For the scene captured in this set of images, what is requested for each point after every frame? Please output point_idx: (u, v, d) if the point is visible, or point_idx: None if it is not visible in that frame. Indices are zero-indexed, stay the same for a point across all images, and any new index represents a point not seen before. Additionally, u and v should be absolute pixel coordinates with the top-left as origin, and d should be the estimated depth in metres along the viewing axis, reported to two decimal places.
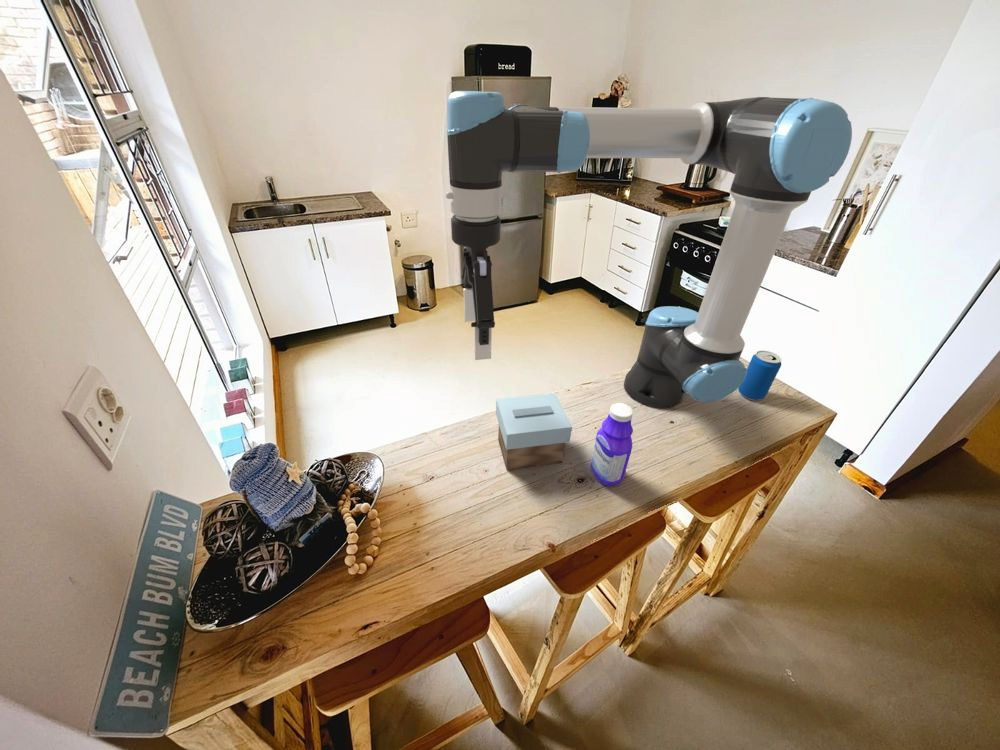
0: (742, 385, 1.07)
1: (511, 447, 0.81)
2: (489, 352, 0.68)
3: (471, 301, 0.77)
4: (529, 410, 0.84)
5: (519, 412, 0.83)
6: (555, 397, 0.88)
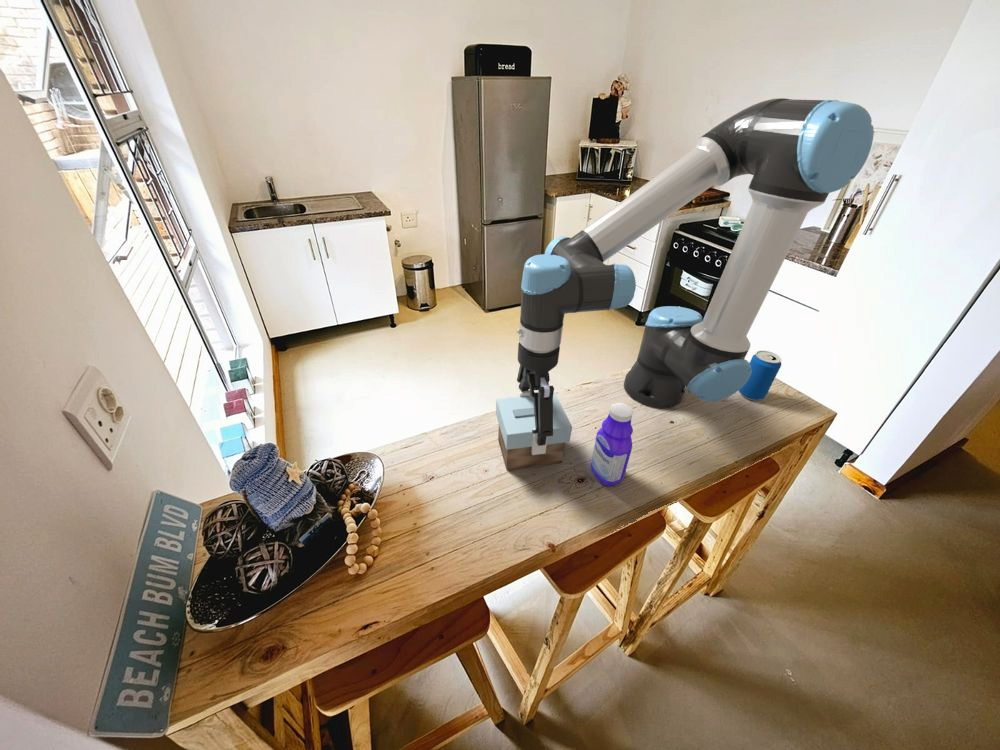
0: None
1: (511, 447, 0.81)
2: (544, 449, 0.82)
3: None
4: (529, 410, 0.84)
5: (519, 412, 0.83)
6: (555, 397, 0.88)
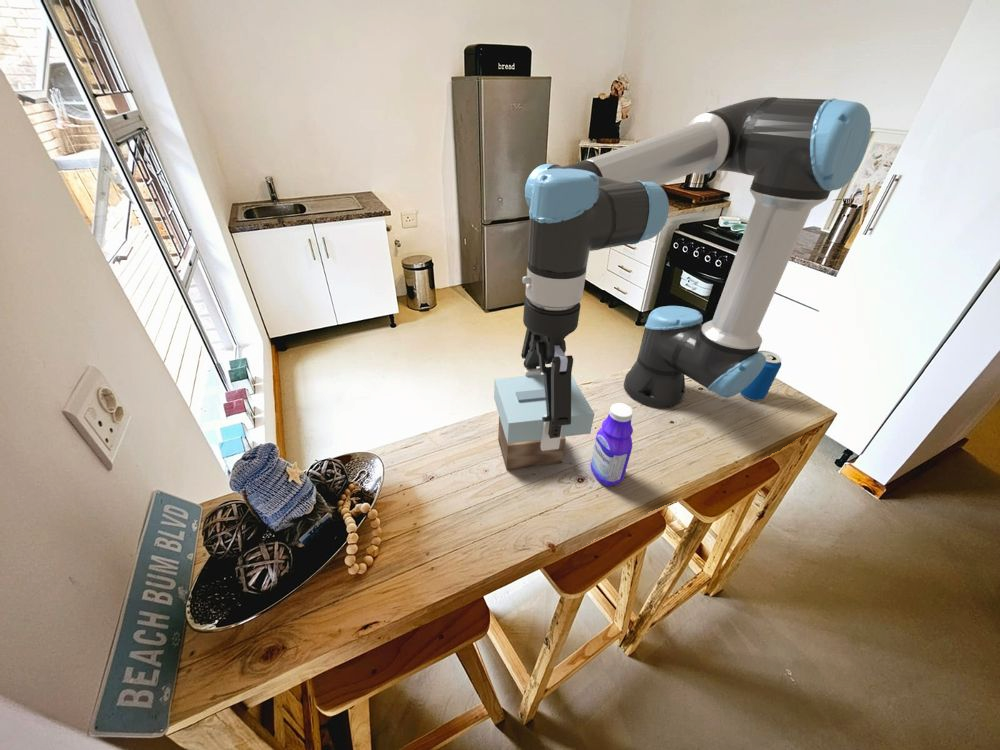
0: None
1: (514, 440, 0.61)
2: (558, 443, 0.62)
3: None
4: (537, 393, 0.64)
5: (524, 395, 0.64)
6: None
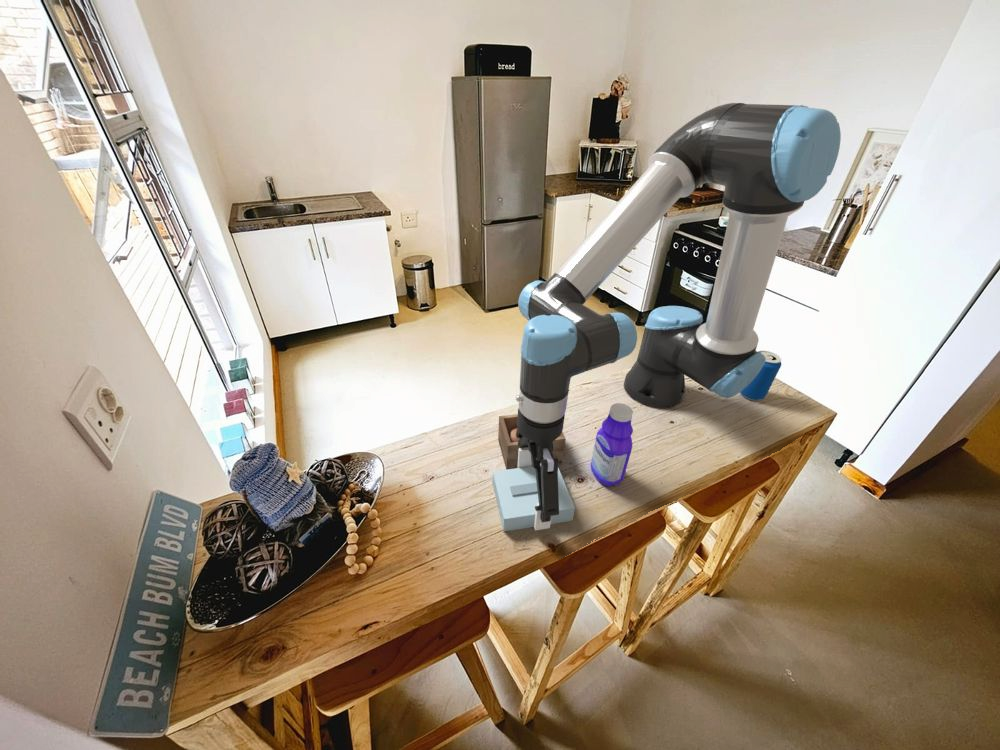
0: None
1: (509, 530, 0.74)
2: (549, 523, 0.72)
3: (525, 458, 0.81)
4: (528, 487, 0.77)
5: (517, 490, 0.77)
6: None
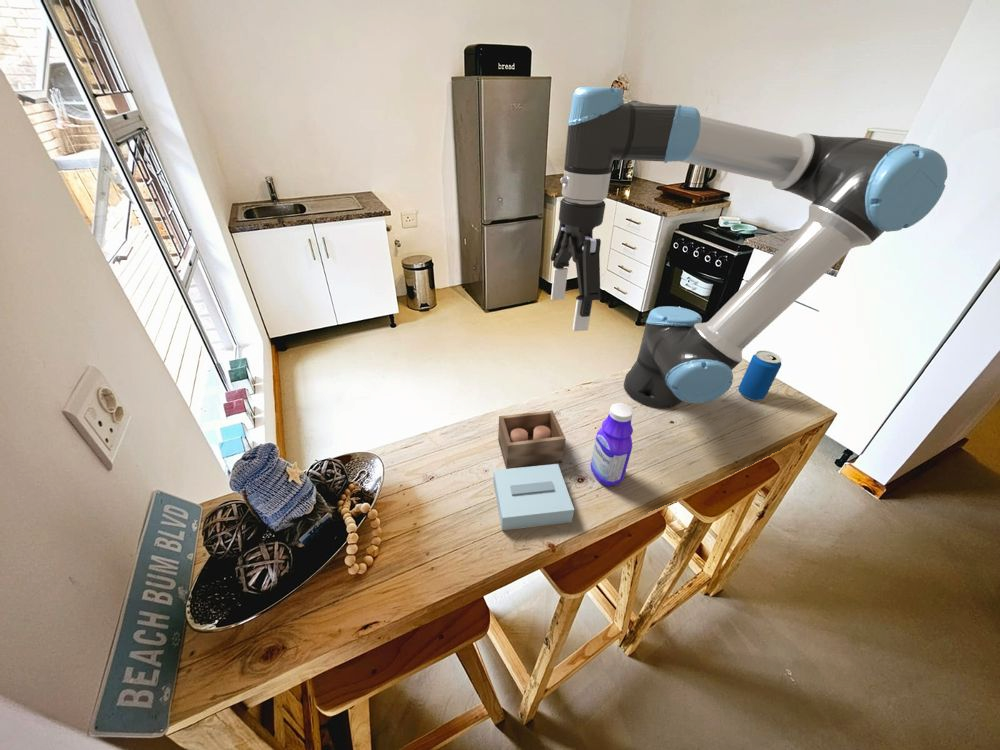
0: (742, 385, 1.07)
1: (507, 529, 0.74)
2: (587, 324, 0.75)
3: (560, 280, 0.84)
4: (528, 487, 0.77)
5: (517, 489, 0.77)
6: (558, 469, 0.81)
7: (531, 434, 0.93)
